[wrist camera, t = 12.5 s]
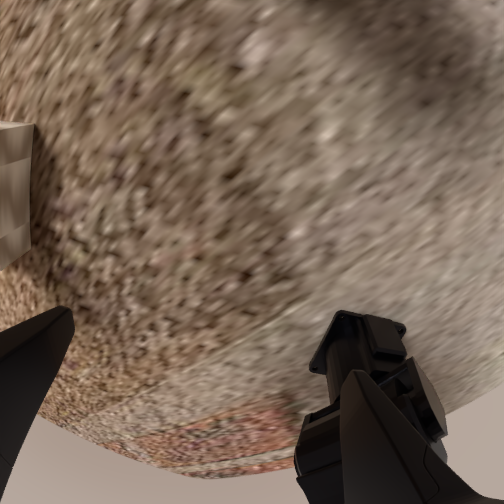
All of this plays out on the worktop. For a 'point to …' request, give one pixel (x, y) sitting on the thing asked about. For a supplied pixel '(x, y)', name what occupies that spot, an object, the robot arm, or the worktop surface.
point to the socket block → (15, 190)
